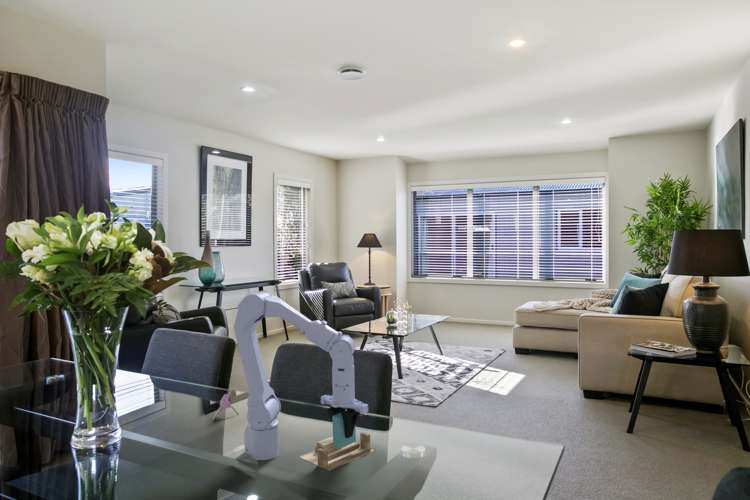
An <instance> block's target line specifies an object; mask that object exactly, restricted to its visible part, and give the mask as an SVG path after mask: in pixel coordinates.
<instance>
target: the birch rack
mask: <svg viewBox="0 0 750 500" xmlns="http://www.w3.org/2000/svg"><path fill="white" fill-rule="evenodd" d="M359 434H360V435H359V436H360V437H359V440H360V442H354V443H352V444H350V445H348V446H346V447H344V448H341V449H339V450H337V451H334V452H332V453H329V454H328V451H326V450H323V449H321V448H320V449H317V451H318V453H317V452H315V450H313V451H310V452H308V453H304V454H303V455H300V456H299V458H301V459H303V460H305V461H307V462H309V463H311V464H313V465H315V466H317V467H319V468H321V469H324V470H326V471H327V472H330V471H332V470H334V469H337V468H339V467H341V466H343V465H346V464H348V463H350V462H352V461H354V460H357V459H360V458H362V457H364V456H367V455H369V454H372V453H374V452H375V450H374V449H372V447H371V434H370V433H367V432H365V431H361V432H360V433H359Z"/></svg>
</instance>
